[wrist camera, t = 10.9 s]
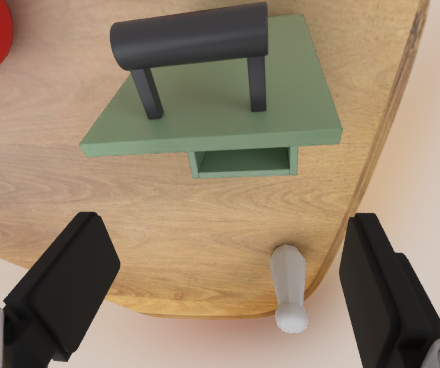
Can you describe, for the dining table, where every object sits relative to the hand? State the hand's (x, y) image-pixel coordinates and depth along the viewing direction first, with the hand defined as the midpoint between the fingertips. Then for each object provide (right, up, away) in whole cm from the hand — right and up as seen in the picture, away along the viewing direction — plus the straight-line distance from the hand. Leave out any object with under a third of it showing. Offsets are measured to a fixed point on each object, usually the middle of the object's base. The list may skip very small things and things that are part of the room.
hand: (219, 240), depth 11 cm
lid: (0, +9, +7) cm, 12 cm away
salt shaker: (+11, -9, +37) cm, 40 cm away
